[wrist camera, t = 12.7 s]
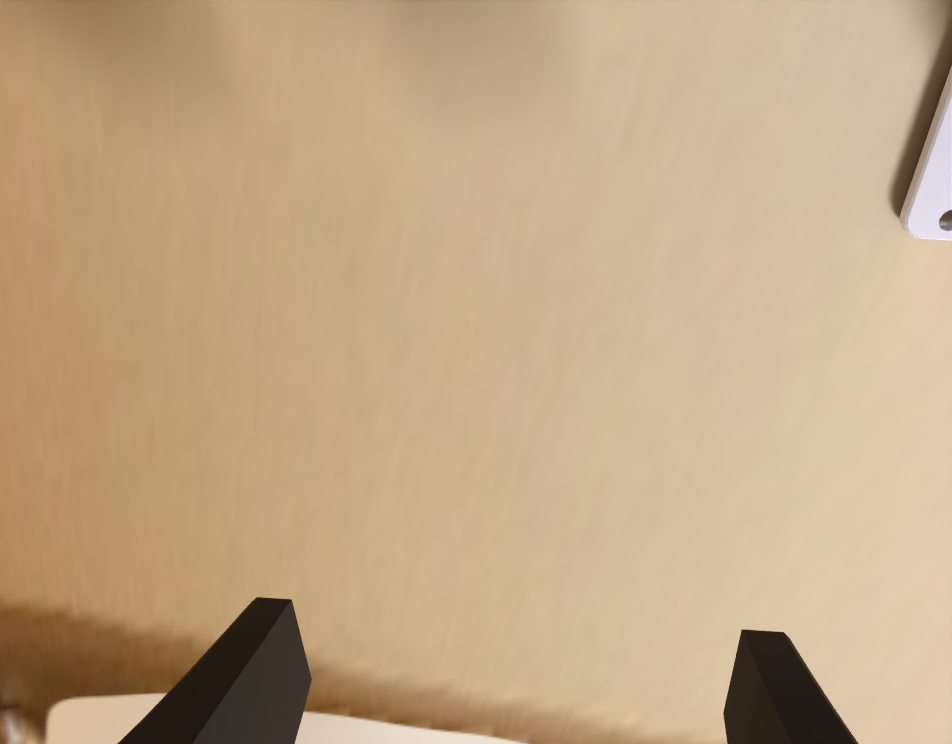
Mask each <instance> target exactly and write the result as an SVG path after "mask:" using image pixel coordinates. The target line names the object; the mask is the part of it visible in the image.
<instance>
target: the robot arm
mask: <svg viewBox="0 0 952 744" xmlns="http://www.w3.org/2000/svg"><path fill="white" fill-rule="evenodd" d="M948 210H952V66H951V69H950V72H949V74H948V77H947V80H946V83H945V86H944V89H943V92H942V95H941V98H940V101H939V103H938V106H937V109H936V112H935V115H934V118H933V121H932V124H931V127H930V130H929V132H928V135H927V138H926V141H925V144H924V147H923V150H922V153H921V156H920V159H919V161H918V164H917V167H916V170H915V173H914V176H913V179H912V182H911V185H910V188H909V190H908V193H907V196H906V199H905V202H904V205H903V208H902V211H901V215H900V223H901V226H902V228H903V229H904V230H905V231H907V232H908V233H909V234H910V235H912V236H913V237H917V238H921V239H938V240H952V221H951V222H950V223H948V224H947V225H942V226H939V219H940V218H941V216H942V215H943V214H944V213H945V212H947V211H948ZM311 680H312V679H311V675H310V671H309V667H308V663H307V659H306V655H305V651H304V647H303V643H302V639H301V635H300V631H299V627H298V623H297V619H296V615H295V611H294V607H293V603H292V600H290V599H275V598H260V597H257V598H256V599H254V600H253V601H252V602H251V603H250V604H249V605H248V607H247V608H246V609H245V610H244V611H243V612H242V613H241V614H240V615H239V616H238V618H237V619H236V620H235V621H234V622H233V623H232V624H231V625H230V626H229V628H228V629H227V630H226V631H225V632H224V633H223V634H222V635H221V636H220V638H219V639H218V640H217V641H216V642H215V643H214V644H213V645H212V646H211V647H210V649H209V650H208V651H207V652H206V653H205V654H204V655H203V656H202V657H201V658H200V659H199V661H198V662H197V663H196V664H195V665H194V666H193V667H192V668H191V669H190V670H189V671H188V672H187V674H186V675H185V676H184V677H183V678H182V679H181V680H180V681H179V682H178V683H177V684H176V685H175V686H174V687H173V688H172V689H171V690H170V691H169V692H168V693H167V694H166V696H165V697H164V698H163V699H162V700H161V701H160V702H159V703H158V704H157V705H156V706H155V707H154V708H153V709H152V710H151V711H150V712H149V713H148V714H147V715H146V717H144V718H143V720H141V721H140V722H139V723H138V724H137V725H136V726H135V727H134V728H133V729H132V730H131V731H130V732H129V733H128V734H127V735H126V736H125V737H124V738H123V739H122V740H121V741H120V742H119V743H118V744H294V743H295V740H296V736H297V733H298V729H299V725H300V722H301V719H302V715H303V711H304V707H305V703H306V699H307V696H308V692H309V688H310V684H311ZM724 721H725V728H726V735H727V743H728V744H858V742H857V741H856V739H855V738H854V737H853V735H852V734H851V732H850V731H849V729H848V728H847V726H846V725H845V723H844V722H843V720H842V719H841V718H840V716H839V715H838V713H837V712H836V710H835V709H834V707H833V706H832V704H831V703H830V701H829V700H828V698H827V697H826V695H825V694H824V692H823V690H822V689H821V687H820V686H819V684H818V683H817V681H816V680H815V678H814V677H813V675H812V673H811V672H810V670H809V669H808V667H807V666H806V664H805V662H804V661H803V659H802V658H801V656H800V654H799V653H798V651H797V649H796V648H795V646H794V645H793V643H792V641H791V640H790V638H789V637H788V636H787V635H786V634H785V633H784V632H771V631H756V630H742V631H741V636H740V640H739V645H738V649H737V654H736V658H735V663H734V667H733V672H732V676H731V681H730V686H729V690H728V695H727V699H726V704H725V708H724Z"/></svg>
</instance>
